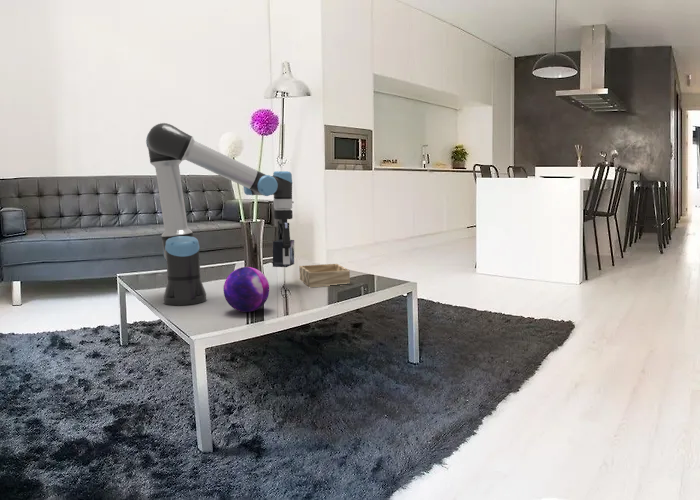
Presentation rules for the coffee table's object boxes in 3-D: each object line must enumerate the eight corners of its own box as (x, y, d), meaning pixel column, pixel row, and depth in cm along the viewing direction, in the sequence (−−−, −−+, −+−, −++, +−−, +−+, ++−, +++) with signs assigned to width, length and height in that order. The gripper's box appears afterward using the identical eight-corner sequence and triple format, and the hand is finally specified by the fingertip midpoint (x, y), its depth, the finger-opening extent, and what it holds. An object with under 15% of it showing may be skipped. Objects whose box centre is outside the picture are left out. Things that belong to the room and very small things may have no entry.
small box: (287, 267, 230) (287, 241, 229) (272, 267, 231) (271, 241, 230) (295, 264, 240) (295, 239, 239) (280, 263, 242) (280, 239, 241)
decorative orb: (245, 305, 202) (243, 262, 200) (279, 309, 194) (277, 265, 192) (215, 313, 189) (212, 269, 187) (249, 318, 181) (247, 271, 180)
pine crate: (349, 284, 237) (349, 270, 236) (309, 287, 232) (309, 273, 232) (337, 276, 257) (336, 263, 256) (299, 279, 252) (299, 265, 252)
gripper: (297, 210, 223) (298, 265, 225) (287, 208, 246) (287, 258, 248) (278, 210, 221) (279, 266, 223) (269, 208, 244) (270, 259, 246)
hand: (283, 262), depth 236 cm, fingers closed on small box, 12 cm apart
